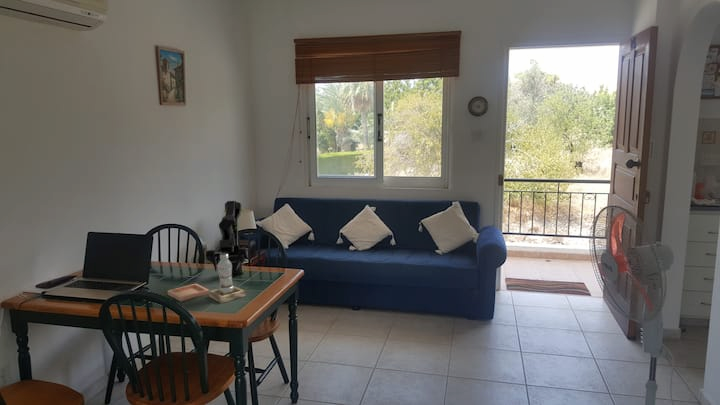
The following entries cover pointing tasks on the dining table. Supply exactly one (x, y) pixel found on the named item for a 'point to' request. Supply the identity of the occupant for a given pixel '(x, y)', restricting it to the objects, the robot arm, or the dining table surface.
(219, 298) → the collar
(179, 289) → the tray
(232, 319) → the dining table surface
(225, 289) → the plastic bottle
